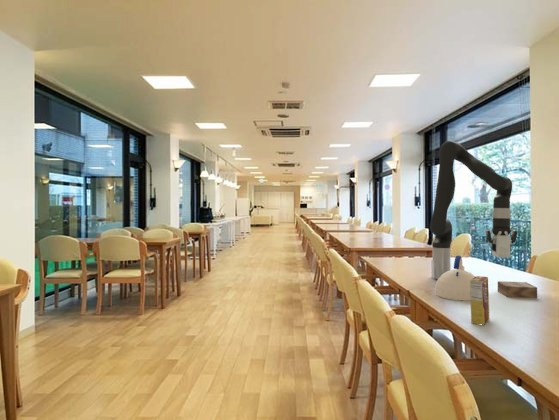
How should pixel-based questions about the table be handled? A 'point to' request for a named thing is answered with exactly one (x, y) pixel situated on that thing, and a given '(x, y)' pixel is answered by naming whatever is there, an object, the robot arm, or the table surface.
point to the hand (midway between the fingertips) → (501, 251)
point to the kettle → (455, 283)
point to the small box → (502, 246)
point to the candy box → (479, 300)
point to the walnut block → (517, 289)
